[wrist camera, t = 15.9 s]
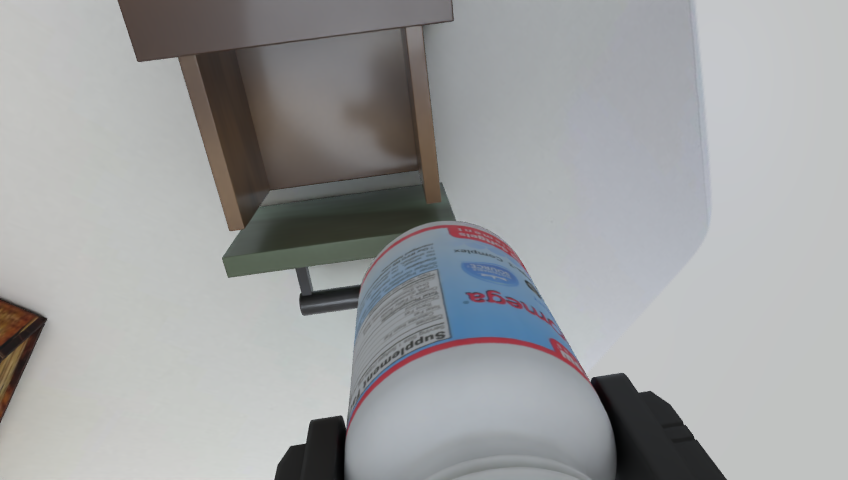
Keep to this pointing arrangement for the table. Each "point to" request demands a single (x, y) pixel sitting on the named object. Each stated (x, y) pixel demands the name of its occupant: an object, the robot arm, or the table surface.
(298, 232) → the drawer
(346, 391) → the table surface
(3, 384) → the book
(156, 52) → the cabinet
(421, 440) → the pill bottle
